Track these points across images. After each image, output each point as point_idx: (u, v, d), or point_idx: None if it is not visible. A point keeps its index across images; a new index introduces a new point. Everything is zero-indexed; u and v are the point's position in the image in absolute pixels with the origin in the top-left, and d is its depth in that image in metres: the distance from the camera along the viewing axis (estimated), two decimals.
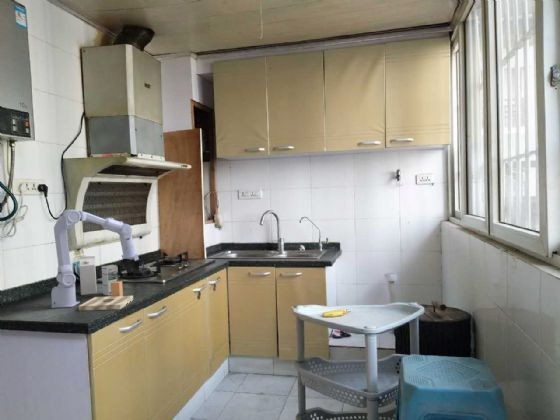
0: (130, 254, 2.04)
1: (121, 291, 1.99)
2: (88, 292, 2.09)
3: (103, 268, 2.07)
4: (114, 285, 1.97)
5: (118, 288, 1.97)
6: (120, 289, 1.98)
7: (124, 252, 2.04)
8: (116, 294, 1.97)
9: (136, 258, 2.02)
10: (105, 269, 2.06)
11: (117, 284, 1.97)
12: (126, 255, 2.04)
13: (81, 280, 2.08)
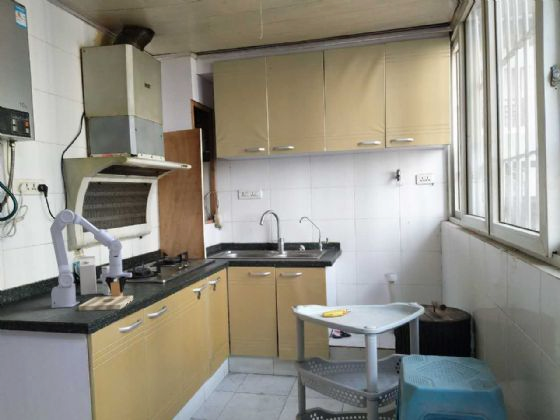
0: (121, 271, 1.98)
1: None
2: (88, 292, 2.09)
3: (103, 268, 2.07)
4: (114, 285, 1.97)
5: (118, 288, 1.97)
6: None
7: (115, 269, 1.96)
8: (116, 294, 1.97)
9: (131, 275, 1.98)
10: (105, 269, 2.06)
11: (117, 284, 1.97)
12: (117, 272, 1.96)
13: (81, 280, 2.08)
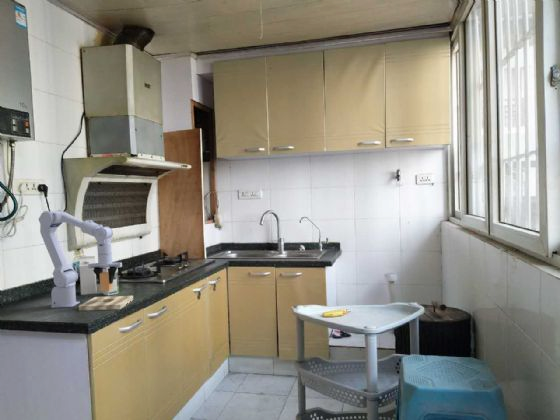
0: (110, 261, 1.86)
1: None
2: (88, 292, 2.09)
3: (103, 268, 2.07)
4: (103, 275, 1.85)
5: (107, 279, 1.85)
6: None
7: (104, 259, 1.84)
8: (105, 285, 1.85)
9: (121, 265, 1.86)
10: (105, 269, 2.06)
11: (106, 274, 1.85)
12: (106, 262, 1.84)
13: (81, 280, 2.08)
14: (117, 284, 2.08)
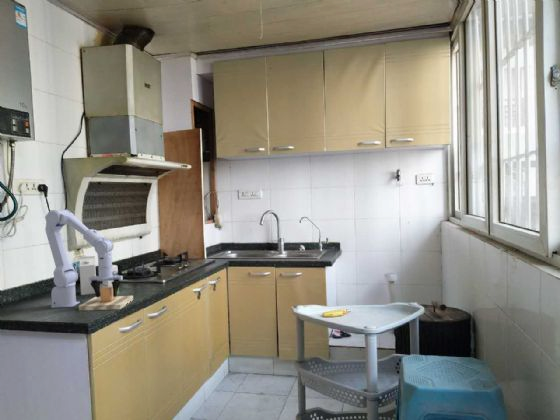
0: (111, 274, 1.86)
1: (111, 297, 1.88)
2: (88, 292, 2.09)
3: None
4: (104, 291, 1.85)
5: (108, 294, 1.85)
6: (111, 295, 1.87)
7: (105, 272, 1.84)
8: (106, 300, 1.85)
9: (121, 278, 1.86)
10: None
11: (107, 290, 1.85)
12: (107, 275, 1.84)
13: (81, 280, 2.08)
14: None
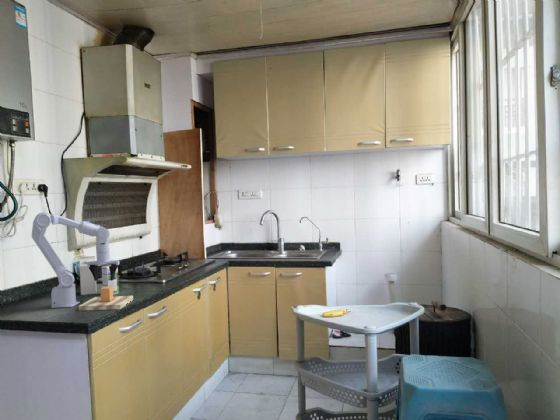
0: (108, 259, 1.96)
1: (111, 297, 1.88)
2: (88, 292, 2.09)
3: (103, 268, 2.07)
4: (104, 291, 1.85)
5: (108, 294, 1.85)
6: (111, 295, 1.87)
7: (102, 257, 1.93)
8: (106, 300, 1.85)
9: (118, 262, 1.96)
10: (105, 269, 2.06)
11: (107, 290, 1.85)
12: (104, 260, 1.94)
13: (81, 280, 2.08)
14: (117, 284, 2.08)
